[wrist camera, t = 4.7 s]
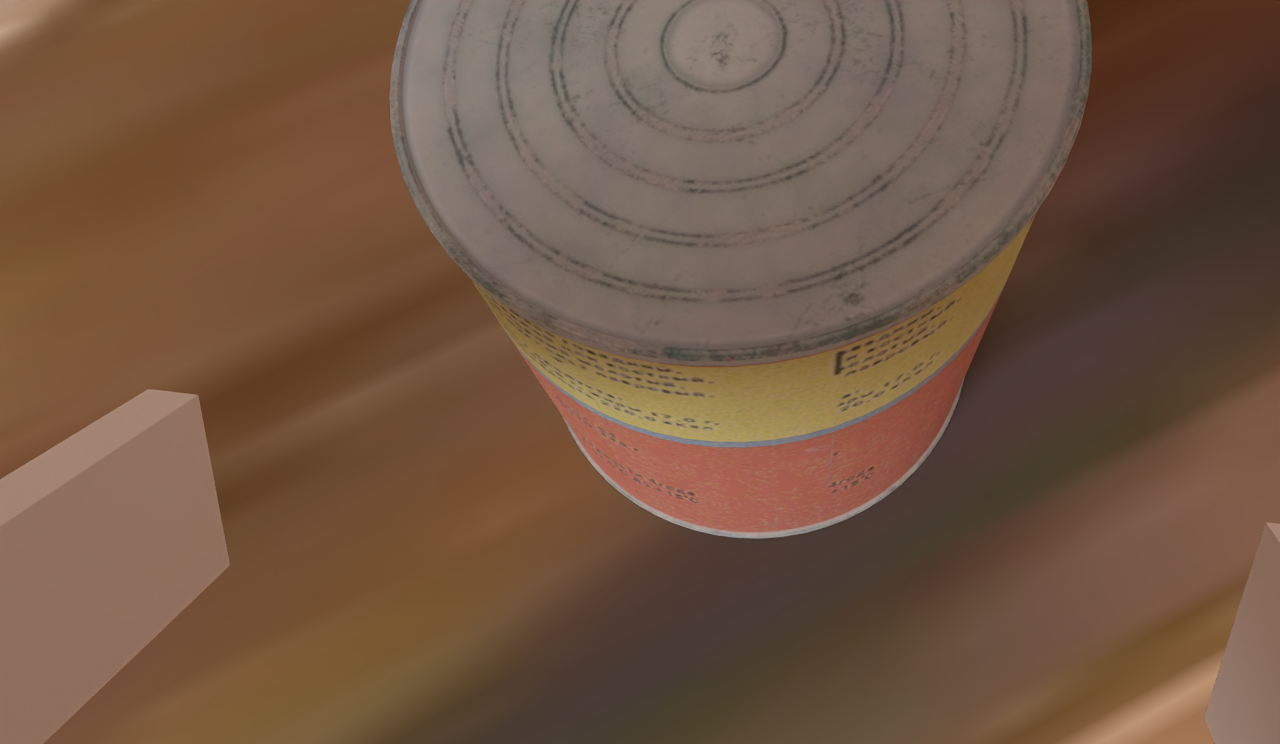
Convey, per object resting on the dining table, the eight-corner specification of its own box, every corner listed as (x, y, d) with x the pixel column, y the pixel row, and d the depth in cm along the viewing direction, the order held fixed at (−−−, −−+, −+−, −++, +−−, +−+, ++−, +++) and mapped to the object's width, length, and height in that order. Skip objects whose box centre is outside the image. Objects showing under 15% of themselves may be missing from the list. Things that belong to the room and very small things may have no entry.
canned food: (1060, 375, 25) (1264, 74, 14) (699, 627, 24) (619, 515, 13) (796, 94, 30) (796, -303, 19) (480, 299, 29) (282, 7, 18)
